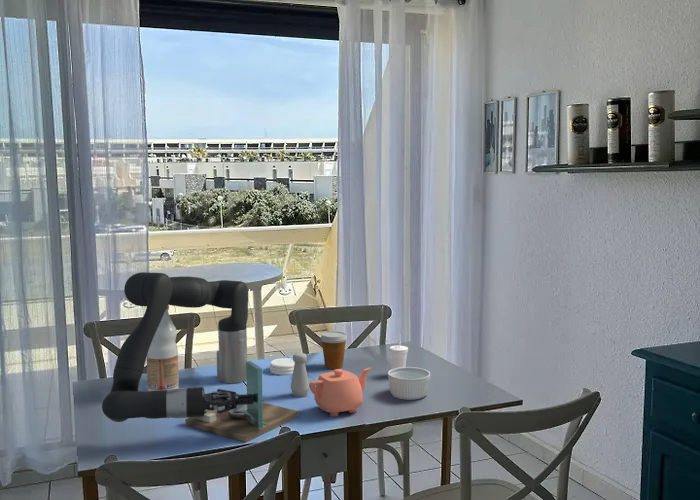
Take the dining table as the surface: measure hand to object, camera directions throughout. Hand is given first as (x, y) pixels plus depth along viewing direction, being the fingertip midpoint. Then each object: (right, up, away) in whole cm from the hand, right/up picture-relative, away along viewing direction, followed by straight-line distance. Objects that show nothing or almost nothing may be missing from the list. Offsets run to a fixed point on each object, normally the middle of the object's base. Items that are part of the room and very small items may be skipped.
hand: (253, 398), depth 174 cm
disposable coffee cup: (+20, -3, +61) cm, 64 cm away
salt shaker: (+10, -6, +32) cm, 34 cm away
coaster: (+3, -3, +57) cm, 57 cm away
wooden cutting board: (-4, -8, +10) cm, 14 cm away
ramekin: (+44, -6, +32) cm, 55 cm away
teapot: (+23, -8, +19) cm, 30 cm away
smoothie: (+42, -4, +51) cm, 66 cm away
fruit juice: (-33, -6, +34) cm, 48 cm away
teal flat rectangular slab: (-2, -7, +6) cm, 9 cm away
